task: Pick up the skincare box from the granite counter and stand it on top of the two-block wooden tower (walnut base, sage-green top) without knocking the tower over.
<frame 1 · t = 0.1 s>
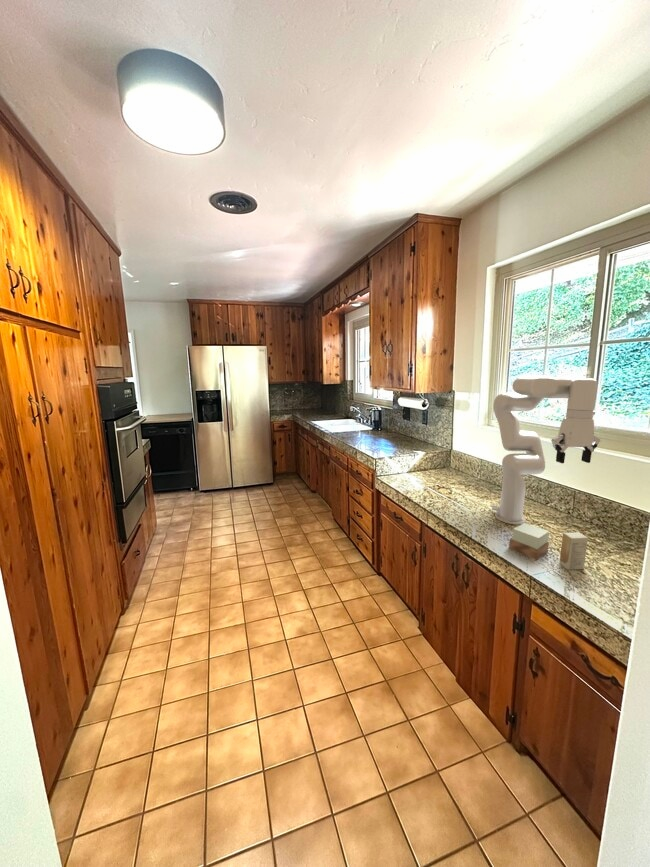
hand: (572, 462, 123), 37 cm above the countertop, tool pointing down, fingers open, 9 cm apart
tower top: (529, 540, 133), point 4 cm above the countertop, touching tower bottom
tower bottom: (528, 551, 134), on the countertop, touching tower top
skincare box: (570, 566, 124), on the countertop
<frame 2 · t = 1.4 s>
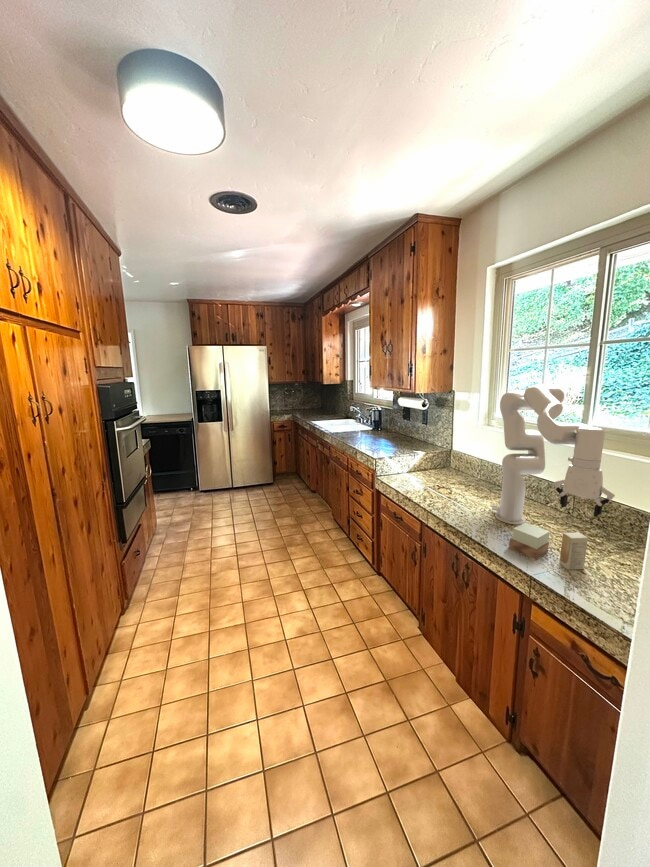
hand: (579, 511, 119), 21 cm above the countertop, tool pointing down, fingers open, 9 cm apart
nothing on the countertop moved.
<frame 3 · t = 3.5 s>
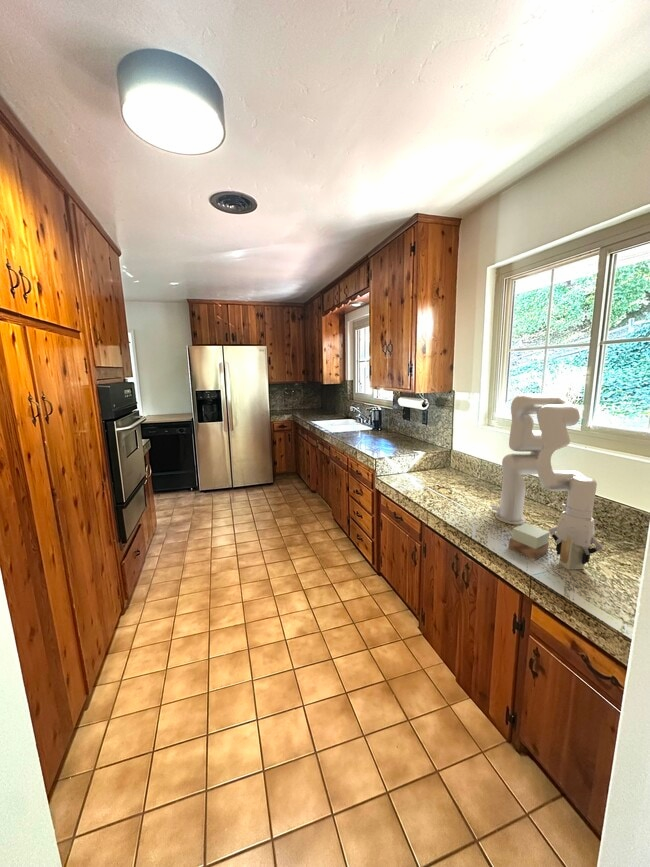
hand: (571, 557, 123), 3 cm above the countertop, tool pointing down, fingers open, 7 cm apart
skincare box: (570, 566, 124), on the countertop, touching gripper
everything else where it was.
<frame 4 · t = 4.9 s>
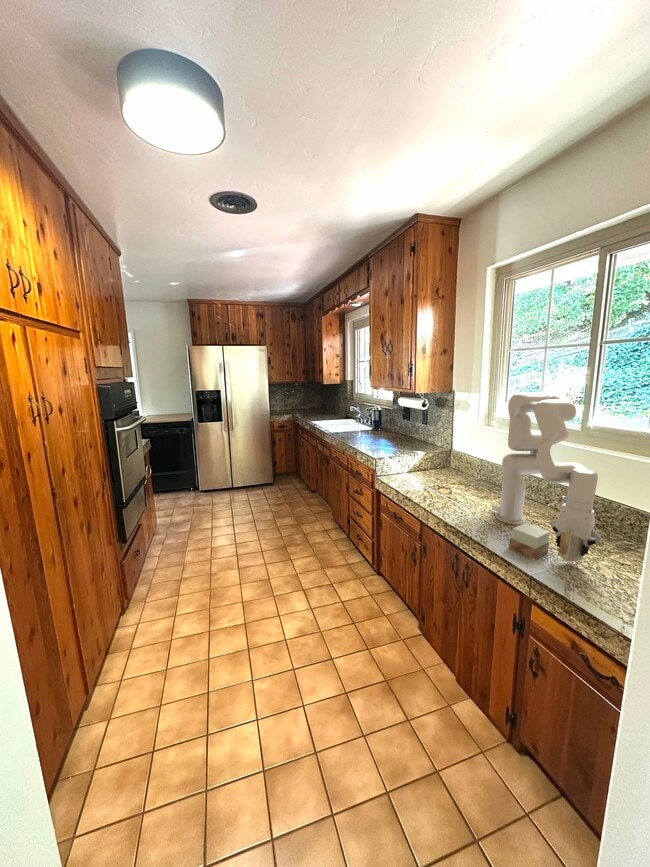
hand: (571, 549, 123), 6 cm above the countertop, tool pointing down, fingers closed on skincare box, 6 cm apart
skincare box: (569, 558, 124), point 2 cm above the countertop, touching gripper
everything else where it was.
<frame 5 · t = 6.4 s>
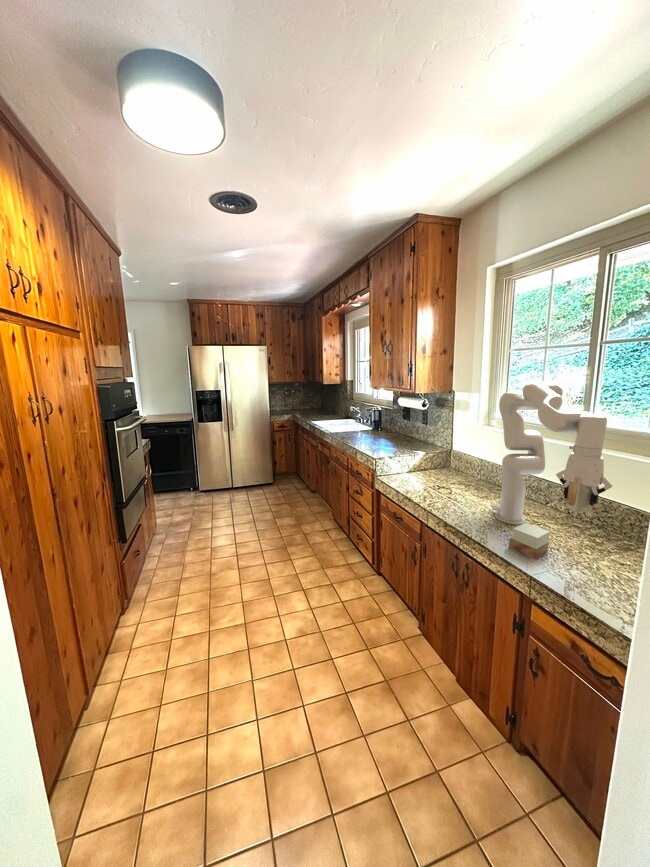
hand: (579, 500, 119), 25 cm above the countertop, tool pointing down, fingers closed on skincare box, 6 cm apart
skincare box: (577, 509, 120), point 21 cm above the countertop, touching gripper
everything else where it was.
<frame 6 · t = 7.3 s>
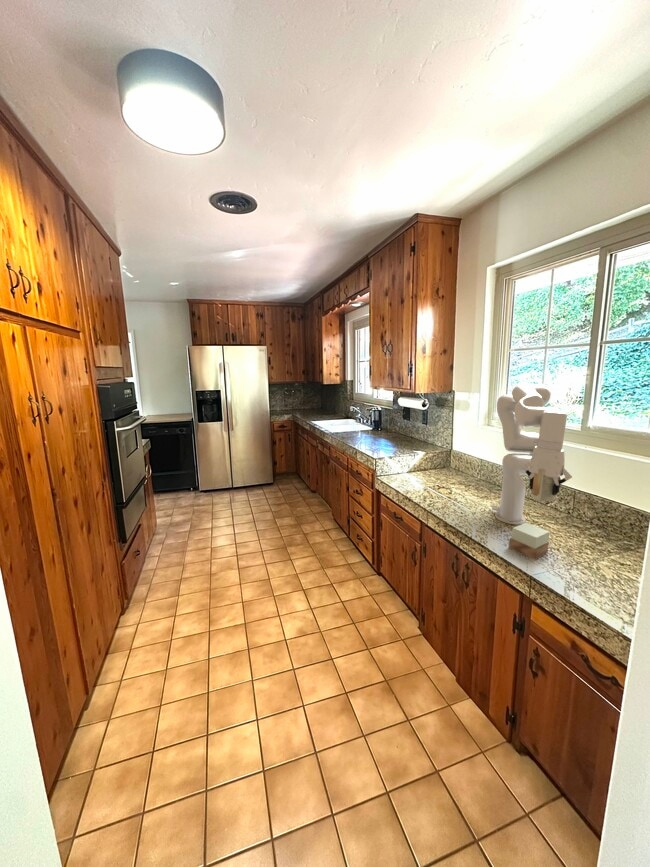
hand: (543, 490, 128), 25 cm above the countertop, tool pointing down, fingers closed on skincare box, 6 cm apart
skincare box: (542, 499, 129), point 22 cm above the countertop, touching gripper
everything else where it was.
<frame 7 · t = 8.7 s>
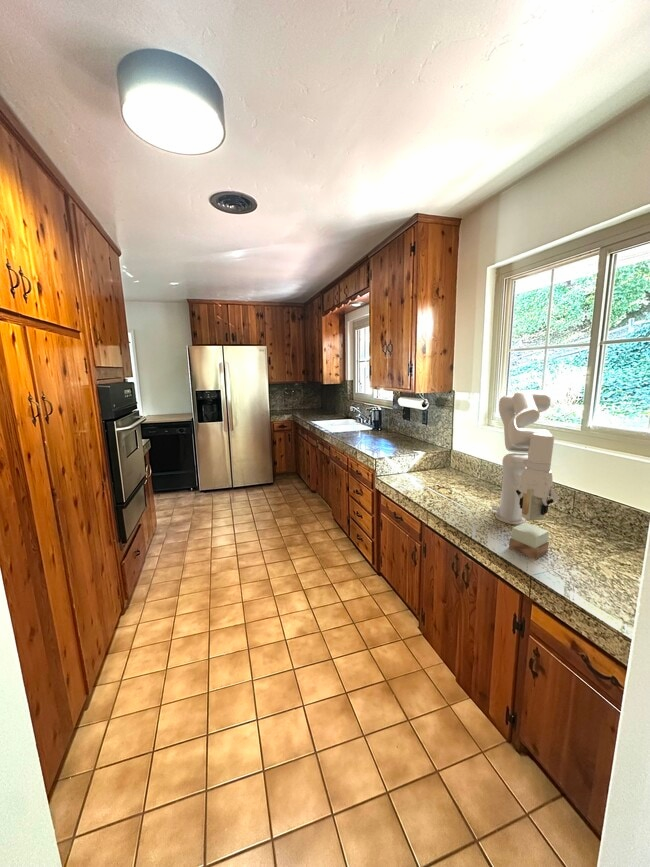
hand: (532, 510, 131), 17 cm above the countertop, tool pointing down, fingers closed on skincare box, 6 cm apart
skincare box: (531, 518, 132), point 13 cm above the countertop, touching gripper
everything else where it was.
when the fingers open (13 cm above the countertop, at t = 10.4 s): skincare box drops 1 cm, resting on tower top.
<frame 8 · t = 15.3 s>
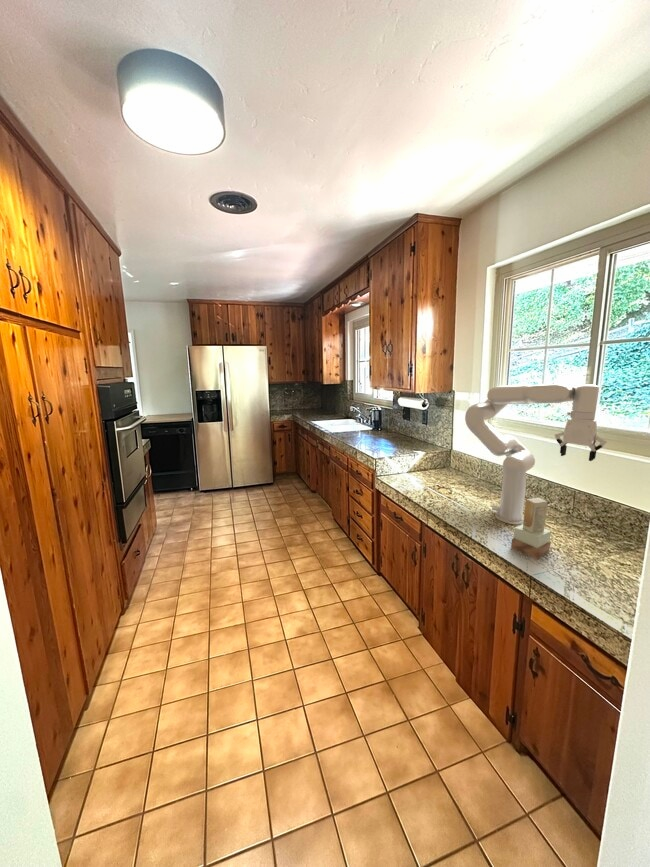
hand: (576, 457, 139), 34 cm above the countertop, tool pointing down, fingers open, 9 cm apart
tower top: (531, 539, 134), point 4 cm above the countertop, touching skincare box, tower bottom
skincare box: (532, 530, 133), point 8 cm above the countertop, touching tower top
at the end: skincare box 0.1 cm off-centre on the tower bottom, point 8.8 cm above the tower bottom's base; skincare box tilted 1°; tower top 0.2 cm off-centre on the tower bottom, point 4.5 cm above the tower bottom's base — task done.
